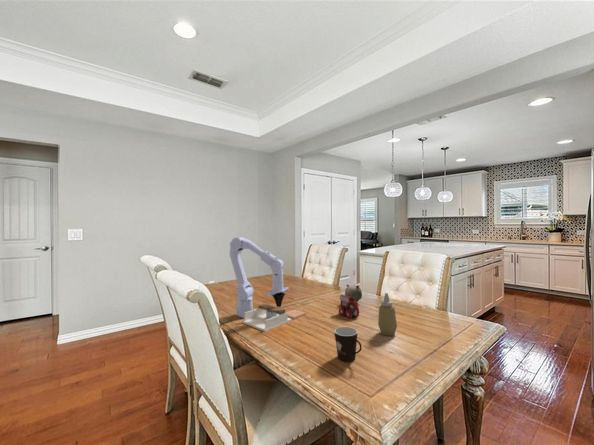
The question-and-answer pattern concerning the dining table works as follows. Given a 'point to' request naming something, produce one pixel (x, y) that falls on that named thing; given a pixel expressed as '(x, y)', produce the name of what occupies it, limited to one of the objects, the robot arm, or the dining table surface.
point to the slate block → (270, 314)
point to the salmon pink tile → (295, 314)
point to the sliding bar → (271, 308)
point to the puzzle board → (264, 319)
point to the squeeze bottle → (387, 317)
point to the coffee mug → (346, 343)
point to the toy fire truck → (348, 306)
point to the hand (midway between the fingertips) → (278, 306)
